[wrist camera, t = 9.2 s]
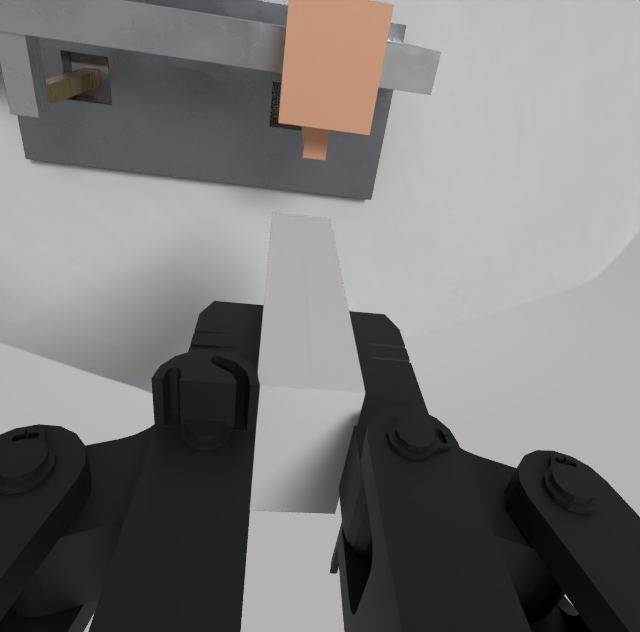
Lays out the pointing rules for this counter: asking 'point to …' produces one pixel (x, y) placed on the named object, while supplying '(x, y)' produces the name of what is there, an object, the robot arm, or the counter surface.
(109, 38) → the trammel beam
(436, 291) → the counter surface
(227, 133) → the bolt plate
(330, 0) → the block
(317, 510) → the robot arm
